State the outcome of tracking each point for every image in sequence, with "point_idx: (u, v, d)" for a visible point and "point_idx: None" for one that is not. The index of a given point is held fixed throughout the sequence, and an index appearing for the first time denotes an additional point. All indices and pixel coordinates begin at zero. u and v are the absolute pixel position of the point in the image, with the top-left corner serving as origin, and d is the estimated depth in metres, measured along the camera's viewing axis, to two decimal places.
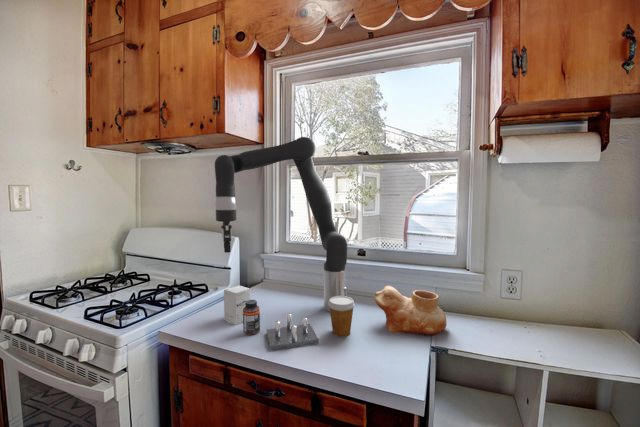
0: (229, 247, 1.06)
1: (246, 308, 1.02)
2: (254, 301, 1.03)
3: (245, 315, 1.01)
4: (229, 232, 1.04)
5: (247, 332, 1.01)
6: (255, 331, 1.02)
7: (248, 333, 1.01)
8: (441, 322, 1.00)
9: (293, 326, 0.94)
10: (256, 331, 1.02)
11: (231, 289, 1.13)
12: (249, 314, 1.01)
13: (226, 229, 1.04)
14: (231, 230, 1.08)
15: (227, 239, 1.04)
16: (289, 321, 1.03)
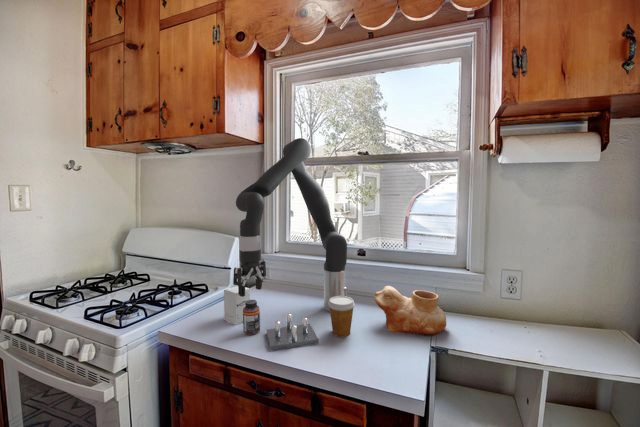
0: None
1: (246, 308, 1.02)
2: (254, 301, 1.03)
3: (245, 315, 1.01)
4: None
5: (247, 332, 1.01)
6: (255, 331, 1.02)
7: (248, 333, 1.01)
8: (441, 322, 1.00)
9: (293, 326, 0.94)
10: (256, 331, 1.02)
11: (231, 289, 1.13)
12: (249, 314, 1.01)
13: None
14: None
15: None
16: (289, 321, 1.03)
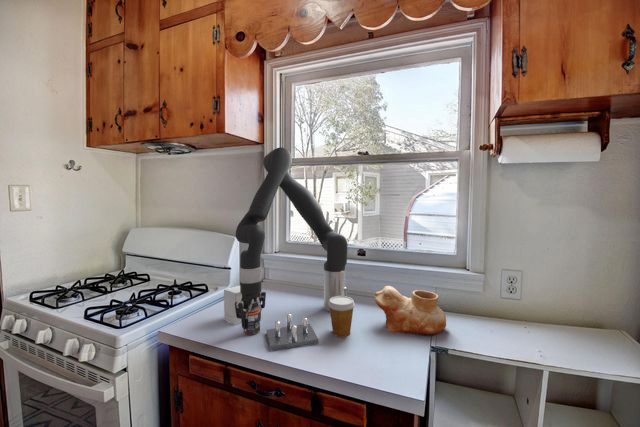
0: None
1: (246, 308, 1.02)
2: (254, 301, 1.03)
3: None
4: None
5: (247, 332, 1.01)
6: (255, 331, 1.02)
7: (248, 333, 1.01)
8: (441, 322, 1.00)
9: (293, 326, 0.94)
10: (256, 331, 1.02)
11: (231, 289, 1.13)
12: (249, 314, 1.01)
13: None
14: None
15: None
16: (289, 321, 1.03)
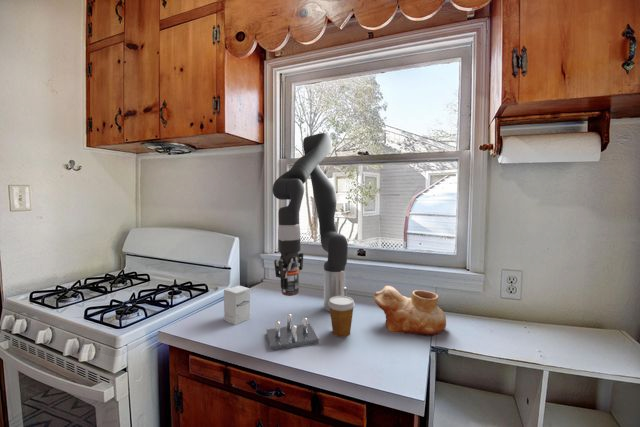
0: None
1: (285, 268, 0.96)
2: (293, 261, 0.98)
3: None
4: None
5: (286, 293, 0.96)
6: (294, 292, 0.96)
7: (287, 294, 0.96)
8: (441, 322, 1.00)
9: (293, 326, 0.94)
10: (295, 292, 0.97)
11: (231, 289, 1.13)
12: (289, 274, 0.95)
13: None
14: None
15: None
16: (289, 321, 1.03)
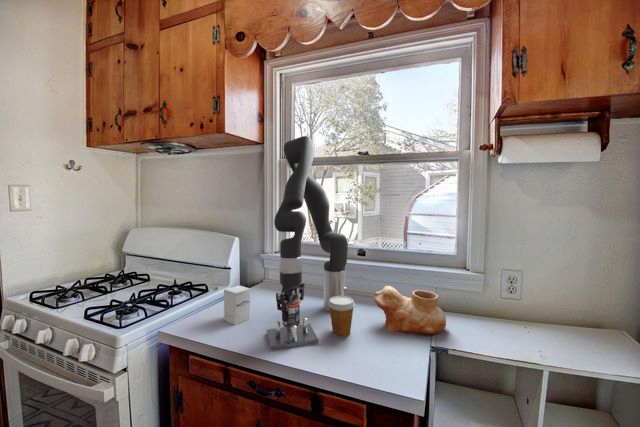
0: None
1: (286, 300, 0.97)
2: None
3: None
4: None
5: (287, 325, 0.96)
6: (296, 324, 0.97)
7: (288, 326, 0.96)
8: (440, 322, 1.00)
9: (293, 326, 0.94)
10: (297, 324, 0.97)
11: (231, 289, 1.13)
12: (290, 306, 0.96)
13: None
14: None
15: None
16: None
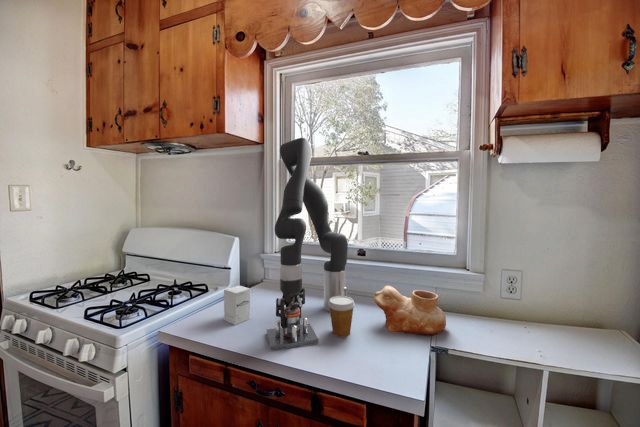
0: None
1: None
2: (294, 302, 0.98)
3: None
4: None
5: (288, 334, 0.96)
6: None
7: (289, 335, 0.96)
8: (440, 322, 1.00)
9: (293, 326, 0.94)
10: (297, 333, 0.97)
11: (231, 289, 1.13)
12: (290, 316, 0.96)
13: None
14: None
15: None
16: None
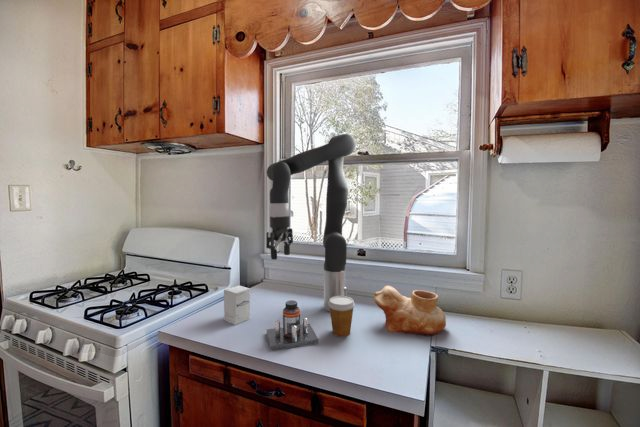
0: None
1: (287, 309, 0.97)
2: (294, 302, 0.98)
3: (286, 317, 0.96)
4: None
5: (288, 334, 0.96)
6: None
7: (289, 336, 0.96)
8: (440, 322, 1.00)
9: (293, 326, 0.94)
10: (297, 333, 0.97)
11: (231, 289, 1.13)
12: (290, 316, 0.96)
13: None
14: None
15: None
16: None
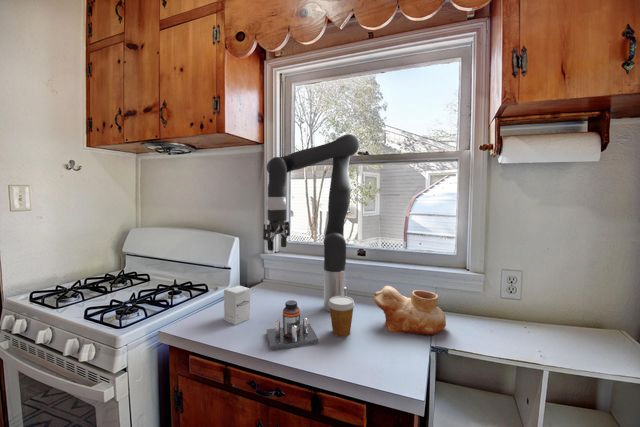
0: None
1: (287, 309, 0.97)
2: (294, 302, 0.98)
3: (286, 317, 0.96)
4: None
5: (288, 334, 0.96)
6: None
7: (289, 335, 0.96)
8: (440, 322, 1.00)
9: (293, 326, 0.94)
10: (297, 333, 0.97)
11: (231, 289, 1.13)
12: (290, 316, 0.96)
13: None
14: None
15: None
16: None
